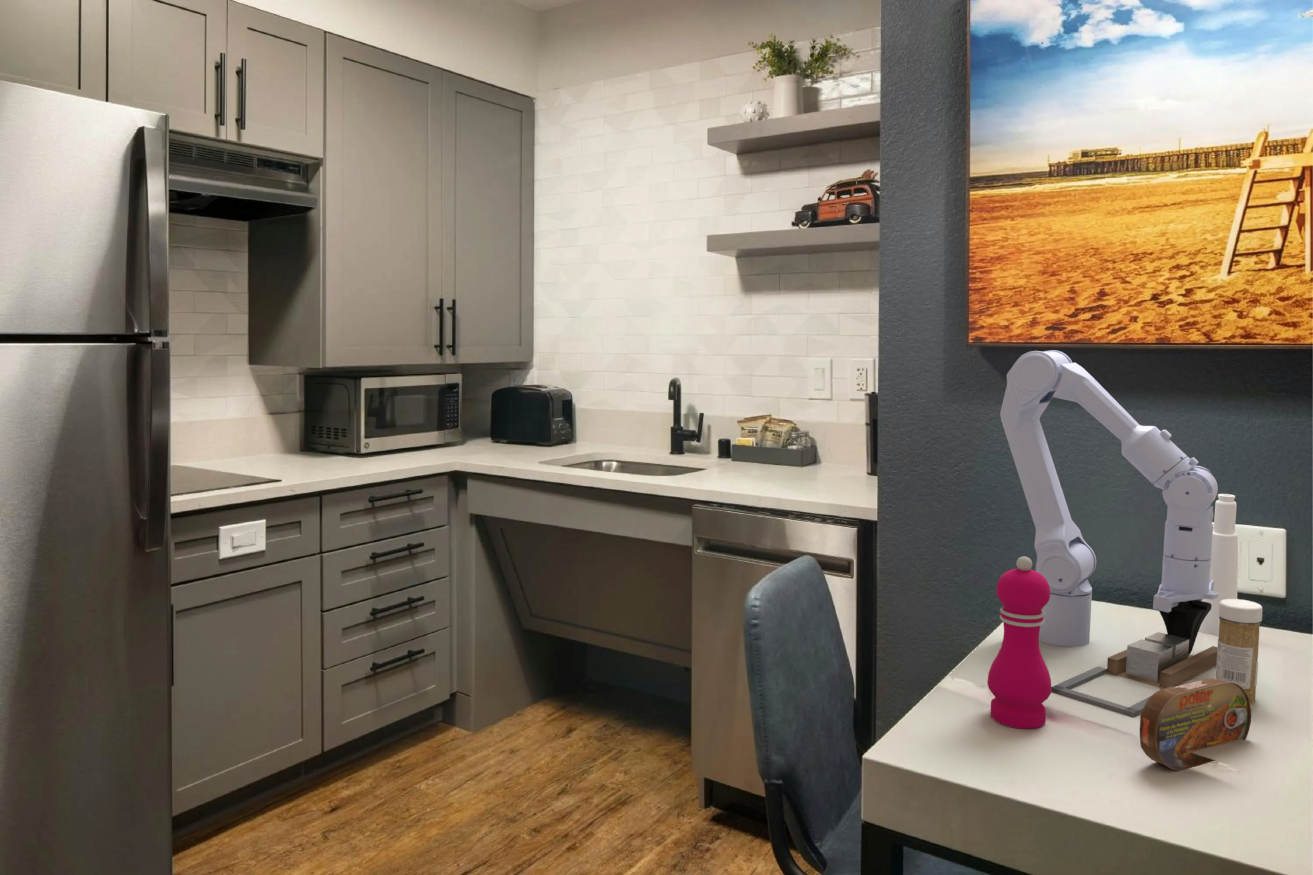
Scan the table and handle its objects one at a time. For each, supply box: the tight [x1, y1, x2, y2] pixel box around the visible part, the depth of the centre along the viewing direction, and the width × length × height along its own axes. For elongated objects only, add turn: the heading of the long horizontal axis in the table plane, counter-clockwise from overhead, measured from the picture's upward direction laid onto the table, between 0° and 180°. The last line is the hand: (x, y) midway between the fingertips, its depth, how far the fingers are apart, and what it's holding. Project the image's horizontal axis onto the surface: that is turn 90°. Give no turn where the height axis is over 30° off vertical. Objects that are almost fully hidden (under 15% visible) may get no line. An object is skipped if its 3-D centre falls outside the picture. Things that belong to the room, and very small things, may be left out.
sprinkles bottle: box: [1215, 598, 1263, 704], centre depth 118 cm, size 5×5×13 cm
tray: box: [1051, 665, 1172, 718], centre depth 120 cm, size 10×12×2 cm
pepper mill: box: [987, 556, 1052, 730], centre depth 114 cm, size 7×7×20 cm
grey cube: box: [1144, 631, 1189, 666], centre depth 128 cm, size 4×4×4 cm
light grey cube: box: [1126, 638, 1173, 683], centre depth 125 cm, size 4×4×4 cm
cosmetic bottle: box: [1198, 493, 1239, 638], centre depth 145 cm, size 6×6×22 cm
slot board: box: [1106, 645, 1218, 689], centre depth 128 cm, size 8×16×4 cm, turn 129°
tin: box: [1139, 678, 1252, 771], centre depth 104 cm, size 15×3×8 cm, turn 114°
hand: (1180, 652), depth 131 cm, fingers closed
